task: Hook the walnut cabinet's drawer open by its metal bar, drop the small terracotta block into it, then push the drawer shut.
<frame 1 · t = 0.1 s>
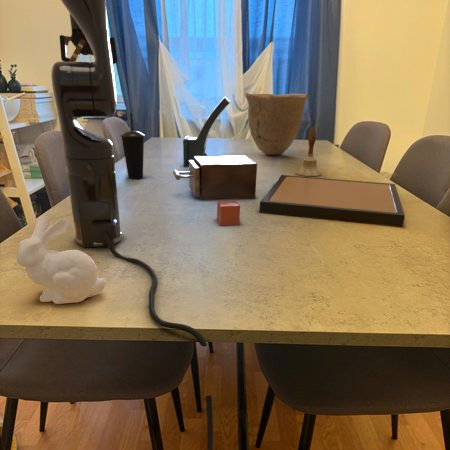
hand: (92, 81, 117), 29 cm above the table, tool pointing down, fingers open, 8 cm apart
drawer: (208, 177, 126), point 5 cm above the table, slide at 0.5 cm
drinking cup: (135, 178, 146), on the table
block: (227, 222, 105), on the table
cork board: (332, 202, 124), on the table
clay pot: (273, 155, 193), on the table
cabinet: (223, 193, 129), on the table
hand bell: (308, 174, 157), on the table
rabbit: (62, 295, 69), on the table
dark grey curved piece: (206, 165, 169), on the table
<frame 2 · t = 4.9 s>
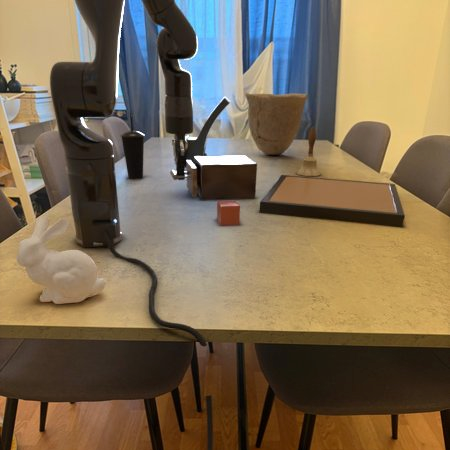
hand: (180, 179, 124), 5 cm above the table, tool pointing down, fingers closed
drawer: (205, 177, 126), point 5 cm above the table, slide at 1.3 cm, touching gripper
everything else where it was.
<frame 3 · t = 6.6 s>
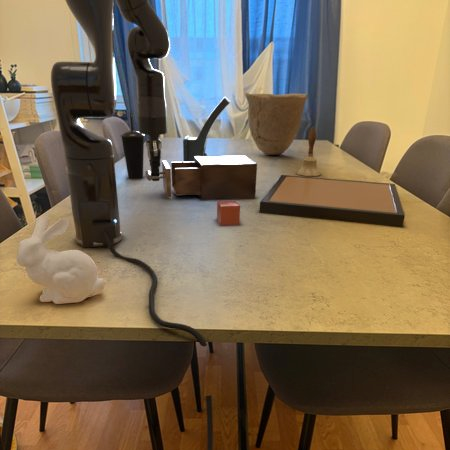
hand: (155, 180, 123), 4 cm above the table, tool pointing down, fingers closed
drawer: (180, 178, 124), point 5 cm above the table, slide at 8.4 cm, touching gripper
everything else where it was.
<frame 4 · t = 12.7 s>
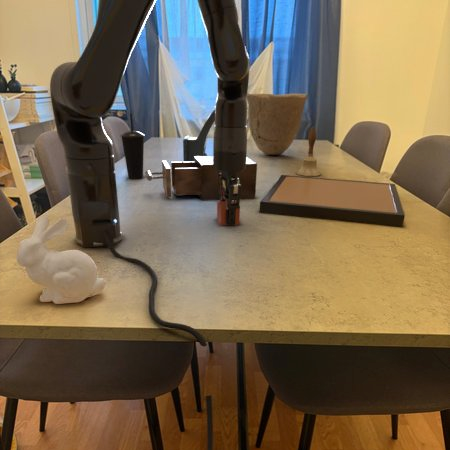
hand: (228, 220, 105), 0 cm above the table, tool pointing down, fingers closed on block, 4 cm apart
drawer: (180, 178, 124), point 5 cm above the table, slide at 8.5 cm
block: (227, 222, 105), on the table, touching gripper
everything else where it was.
when the fingers open (8 cm above the table, at t = 20.2 s): block stays where it is, resting on drawer.
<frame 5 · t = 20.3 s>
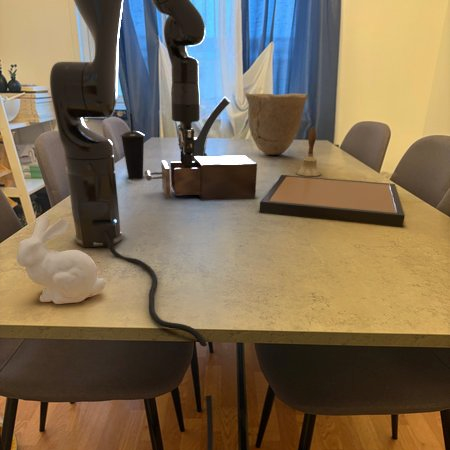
hand: (186, 165, 123), 8 cm above the table, tool pointing down, fingers open, 6 cm apart
drawer: (180, 178, 124), point 5 cm above the table, slide at 8.7 cm, touching block
block: (186, 187, 126), point 2 cm above the table, touching drawer
everything else where it was.
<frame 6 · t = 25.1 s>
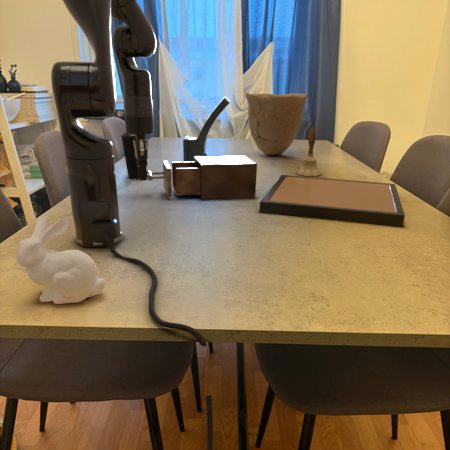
hand: (143, 179, 122), 5 cm above the table, tool pointing down, fingers closed
drawer: (181, 178, 124), point 5 cm above the table, slide at 8.3 cm, touching block
everything else where it was.
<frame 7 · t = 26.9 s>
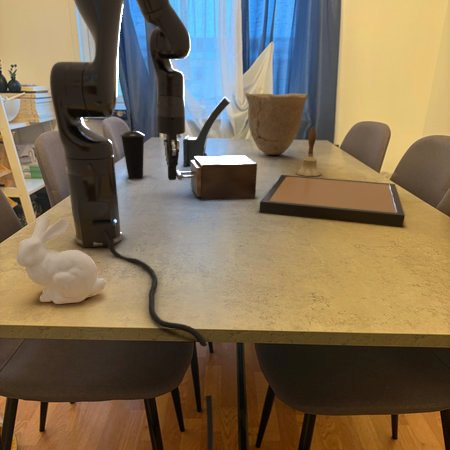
hand: (172, 179, 124), 5 cm above the table, tool pointing down, fingers closed
drawer: (209, 177, 126), point 5 cm above the table, slide at 0.0 cm, touching block, cabinet, gripper
block: (215, 186, 128), point 2 cm above the table, touching drawer
everything else where it was.
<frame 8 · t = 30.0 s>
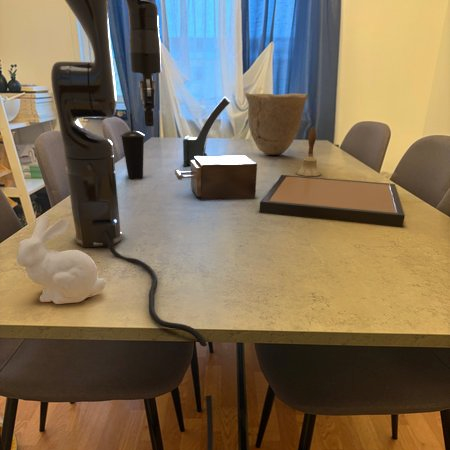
hand: (149, 125, 116), 19 cm above the table, tool pointing down, fingers closed
drawer: (209, 177, 126), point 5 cm above the table, slide at 0.0 cm, touching block, cabinet
everything else where it was.
at the end: drawer pulled out 8.7 cm at the most during the clip, back to where it started at the end; block inside the target area in the cabinet (2.5 cm from its centre), point 2.1 cm above the cabinet's base; drawer slide at 0.0 cm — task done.
